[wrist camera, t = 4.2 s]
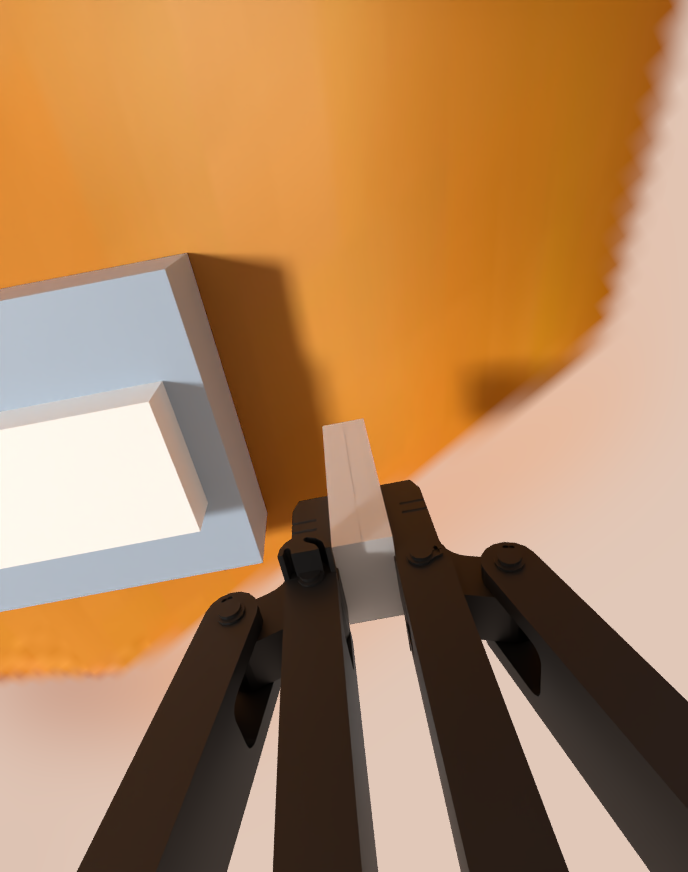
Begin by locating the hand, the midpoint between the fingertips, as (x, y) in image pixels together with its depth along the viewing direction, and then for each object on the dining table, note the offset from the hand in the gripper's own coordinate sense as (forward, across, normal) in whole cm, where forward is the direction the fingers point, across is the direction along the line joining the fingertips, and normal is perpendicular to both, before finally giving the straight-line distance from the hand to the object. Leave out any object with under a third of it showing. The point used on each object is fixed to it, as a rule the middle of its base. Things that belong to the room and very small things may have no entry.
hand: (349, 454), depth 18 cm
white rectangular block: (+3, -11, 0) cm, 12 cm away
